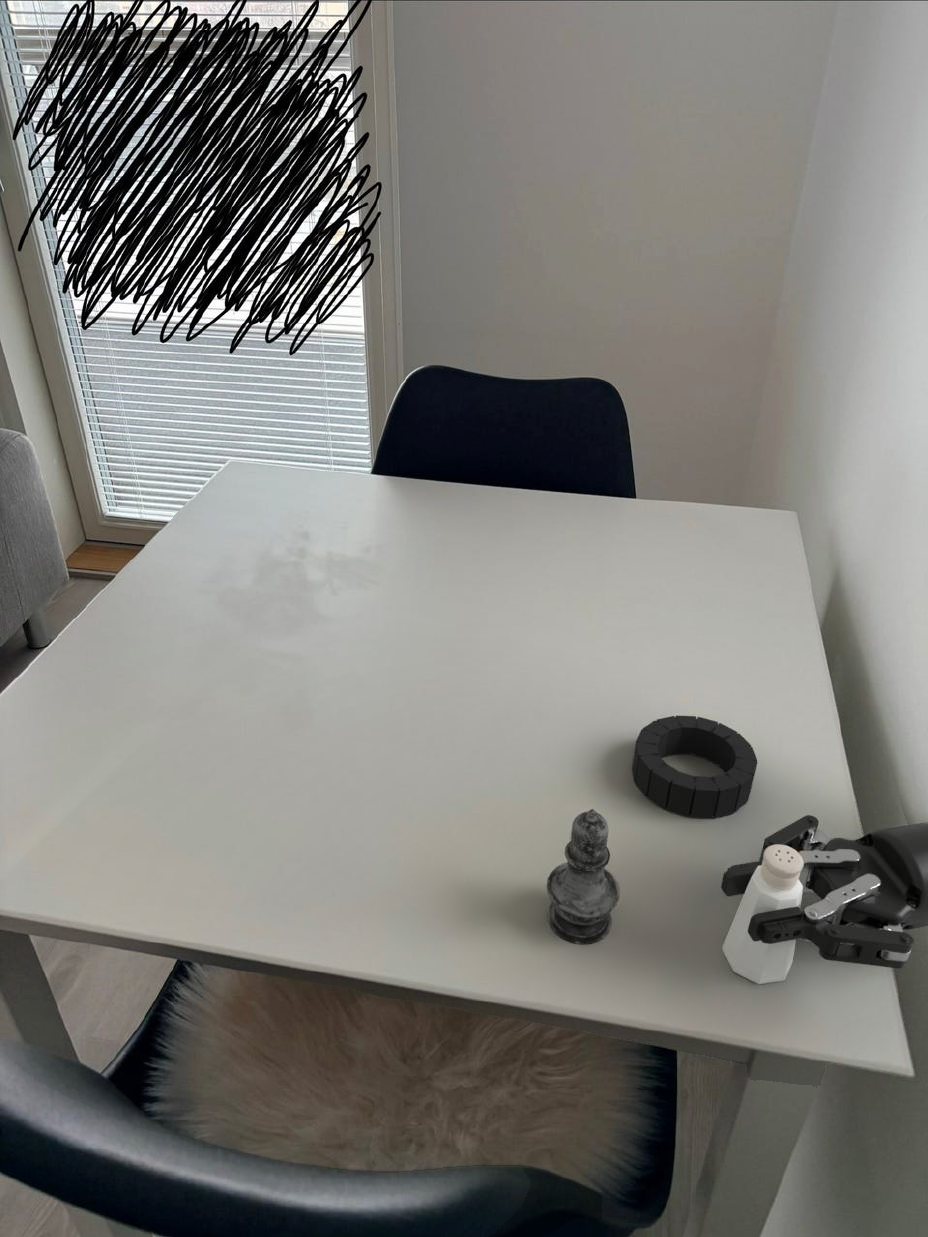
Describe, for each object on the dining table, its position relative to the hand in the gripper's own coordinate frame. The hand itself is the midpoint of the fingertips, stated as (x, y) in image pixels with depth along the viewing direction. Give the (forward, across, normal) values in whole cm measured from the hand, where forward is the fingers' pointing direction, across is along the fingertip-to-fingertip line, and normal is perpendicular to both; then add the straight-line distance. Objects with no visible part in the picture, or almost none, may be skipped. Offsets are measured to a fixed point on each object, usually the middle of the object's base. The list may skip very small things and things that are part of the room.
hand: (738, 905), depth 65 cm
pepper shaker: (-3, 0, +7) cm, 7 cm away
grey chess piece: (+10, -6, +7) cm, 13 cm away
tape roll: (-7, -21, +6) cm, 23 cm away
